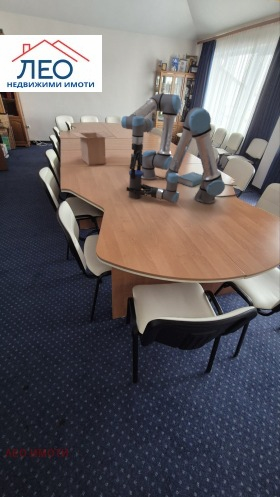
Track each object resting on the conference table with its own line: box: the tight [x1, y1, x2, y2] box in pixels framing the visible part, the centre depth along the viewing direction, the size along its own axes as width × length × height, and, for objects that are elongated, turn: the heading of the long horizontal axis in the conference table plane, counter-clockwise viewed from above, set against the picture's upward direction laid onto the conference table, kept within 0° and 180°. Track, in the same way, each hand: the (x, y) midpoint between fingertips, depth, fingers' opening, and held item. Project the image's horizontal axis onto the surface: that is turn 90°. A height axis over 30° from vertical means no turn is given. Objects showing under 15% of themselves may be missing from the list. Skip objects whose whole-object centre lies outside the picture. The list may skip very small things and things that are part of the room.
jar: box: [128, 175, 143, 200], centre depth 164 cm, size 9×9×18 cm
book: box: [178, 171, 202, 188], centre depth 201 cm, size 23×16×5 cm
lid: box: [128, 169, 143, 177], centre depth 159 cm, size 10×10×2 cm
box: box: [70, 129, 114, 166], centre depth 229 cm, size 44×36×27 cm
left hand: (135, 176), depth 160 cm, fingers closed on lid, 10 cm apart
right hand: (129, 186), depth 167 cm, fingers closed on jar, 9 cm apart
